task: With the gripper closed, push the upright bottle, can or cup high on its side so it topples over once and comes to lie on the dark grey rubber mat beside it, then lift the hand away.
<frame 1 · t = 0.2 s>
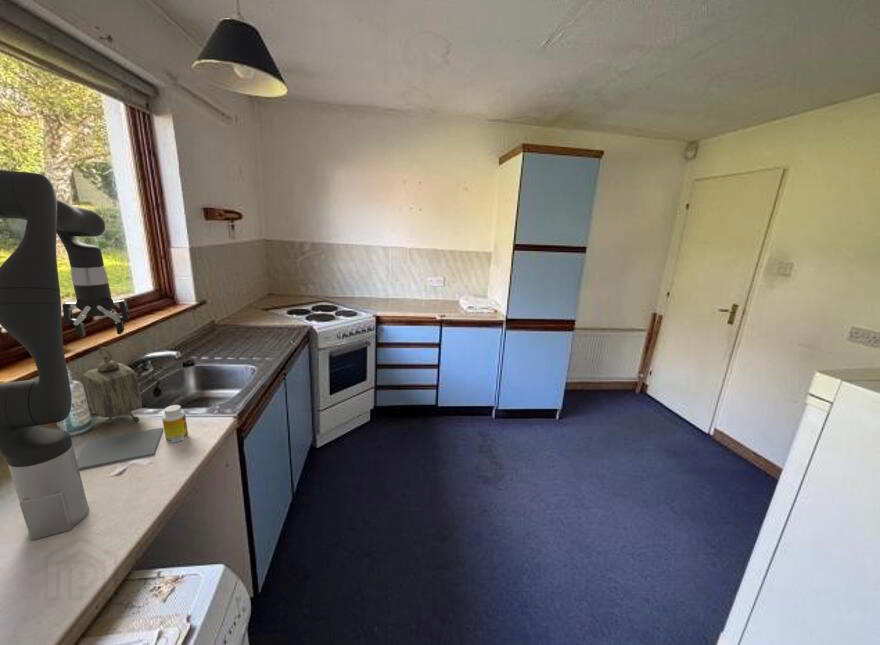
hand: (101, 334, 110), 29 cm above the worktop, tool pointing down, fingers open, 8 cm apart
supplement bottle: (177, 438, 110), on the worktop
mat: (121, 448, 104), on the worktop
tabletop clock: (118, 421, 117), on the worktop
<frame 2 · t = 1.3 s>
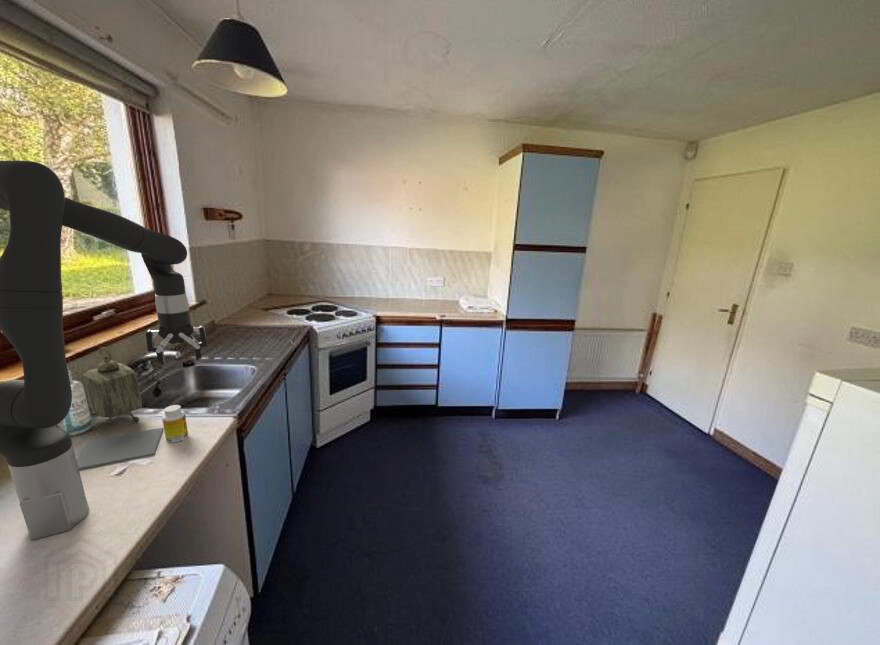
hand: (181, 361, 108), 23 cm above the worktop, tool pointing down, fingers open, 8 cm apart
nothing on the worktop moved.
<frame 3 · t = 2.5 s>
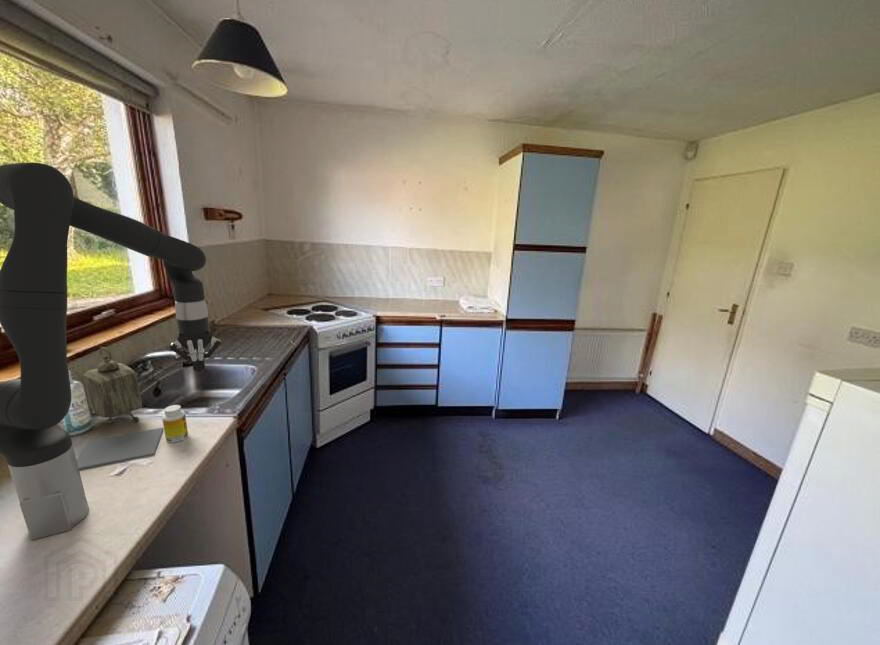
hand: (199, 371, 108), 21 cm above the worktop, tool pointing down, fingers closed
nothing on the worktop moved.
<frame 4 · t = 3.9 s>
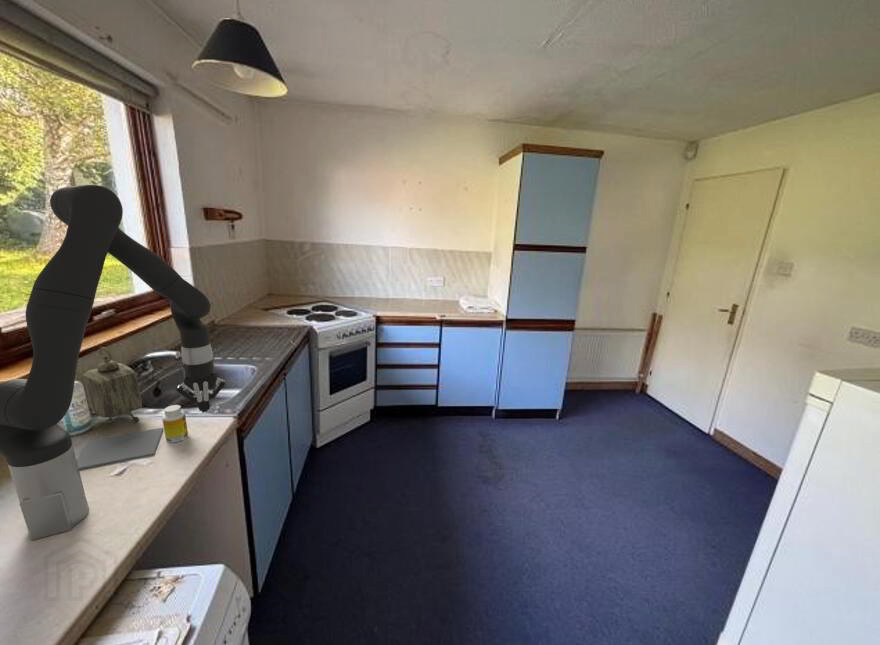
hand: (205, 410, 112), 8 cm above the worktop, tool pointing down, fingers closed
nothing on the worktop moved.
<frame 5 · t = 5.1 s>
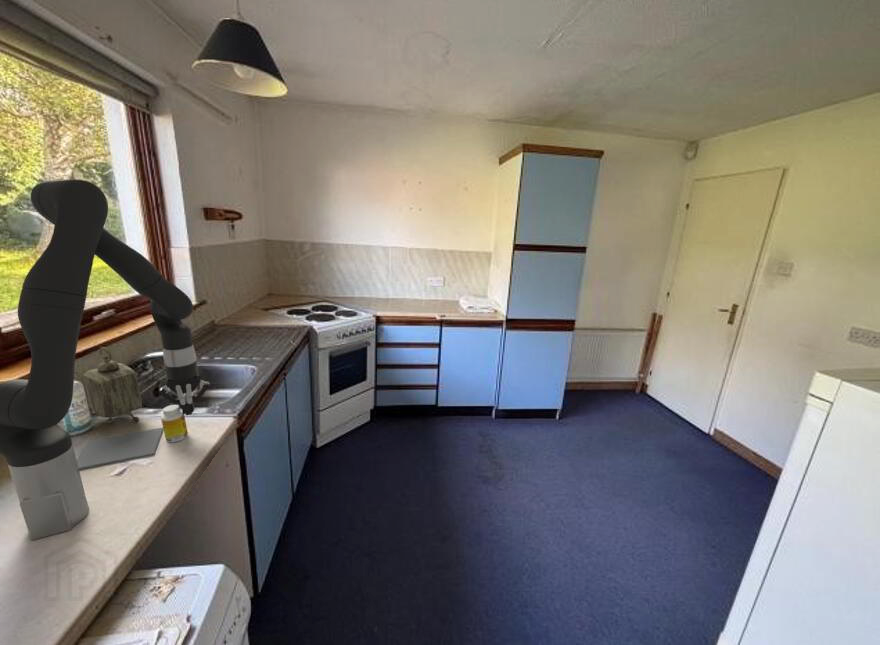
hand: (189, 413, 110), 8 cm above the worktop, tool pointing down, fingers closed
supplement bottle: (177, 438, 110), on the worktop, touching gripper
everything else where it was.
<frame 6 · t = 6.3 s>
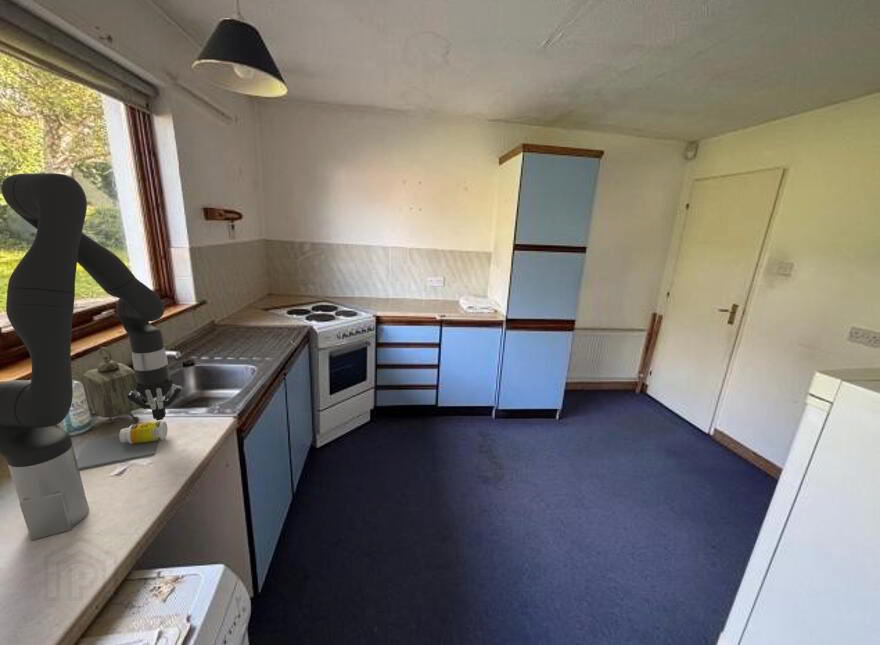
hand: (160, 418, 107), 7 cm above the worktop, tool pointing down, fingers closed
supplement bottle: (166, 429, 109), point 3 cm above the worktop, touching mat
everything else where it was.
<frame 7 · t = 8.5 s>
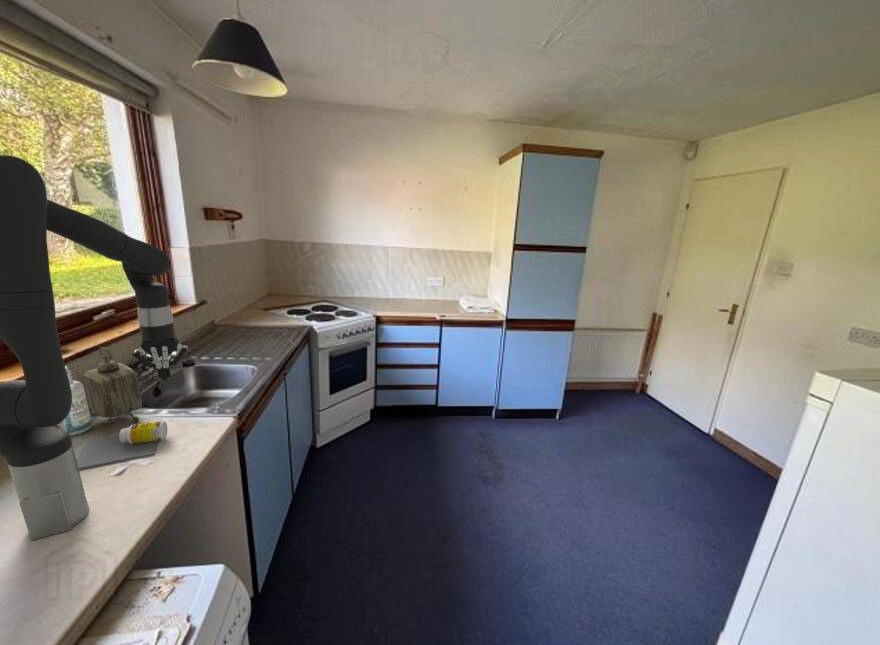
hand: (165, 379, 105), 20 cm above the worktop, tool pointing down, fingers closed
nothing on the worktop moved.
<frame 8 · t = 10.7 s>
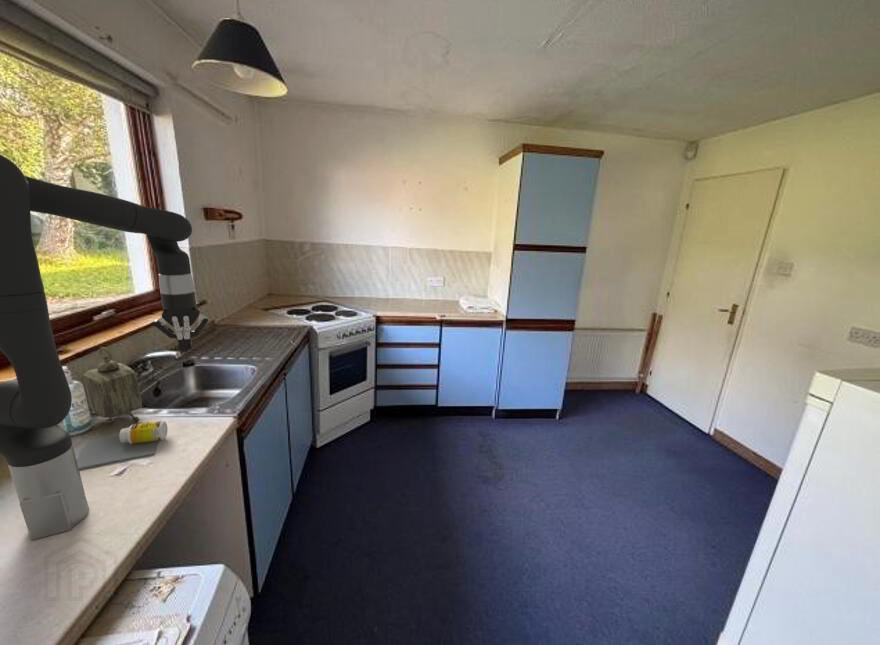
hand: (186, 350, 102), 29 cm above the worktop, tool pointing down, fingers closed
nothing on the worktop moved.
at the end: supplement bottle tilted 90°; supplement bottle touching mat; supplement bottle inside the target area (7.6 cm from its centre), point 3.4 cm above the worktop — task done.
